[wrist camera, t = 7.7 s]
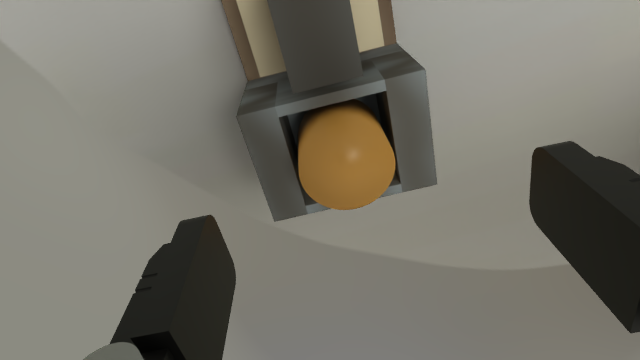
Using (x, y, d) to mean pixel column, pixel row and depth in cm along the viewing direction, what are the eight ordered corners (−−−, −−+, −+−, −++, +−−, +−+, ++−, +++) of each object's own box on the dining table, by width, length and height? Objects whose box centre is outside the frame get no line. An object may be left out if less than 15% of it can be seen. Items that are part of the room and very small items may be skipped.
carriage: (361, -58, 22) (396, -61, 14) (376, 37, 24) (413, 76, 17) (235, -24, 22) (207, -10, 15) (263, 65, 25) (250, 116, 17)
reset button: (372, 87, 23) (387, 113, 19) (385, 162, 25) (401, 198, 22) (288, 108, 23) (287, 137, 20) (309, 180, 26) (311, 218, 22)
